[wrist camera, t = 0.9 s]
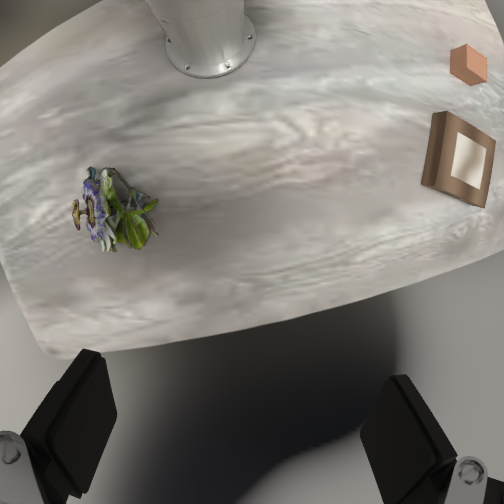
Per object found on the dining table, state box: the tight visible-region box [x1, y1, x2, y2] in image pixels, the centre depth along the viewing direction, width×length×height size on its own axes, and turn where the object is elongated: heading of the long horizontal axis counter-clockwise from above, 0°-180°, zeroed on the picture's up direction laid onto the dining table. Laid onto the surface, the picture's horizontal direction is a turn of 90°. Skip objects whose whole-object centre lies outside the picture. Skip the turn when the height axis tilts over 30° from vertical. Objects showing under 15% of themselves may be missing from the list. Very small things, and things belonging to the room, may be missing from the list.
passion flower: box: [72, 167, 158, 252], centre depth 37 cm, size 11×11×12 cm
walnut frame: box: [421, 111, 496, 209], centre depth 37 cm, size 12×12×4 cm
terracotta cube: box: [450, 44, 487, 86], centre depth 32 cm, size 5×5×5 cm
